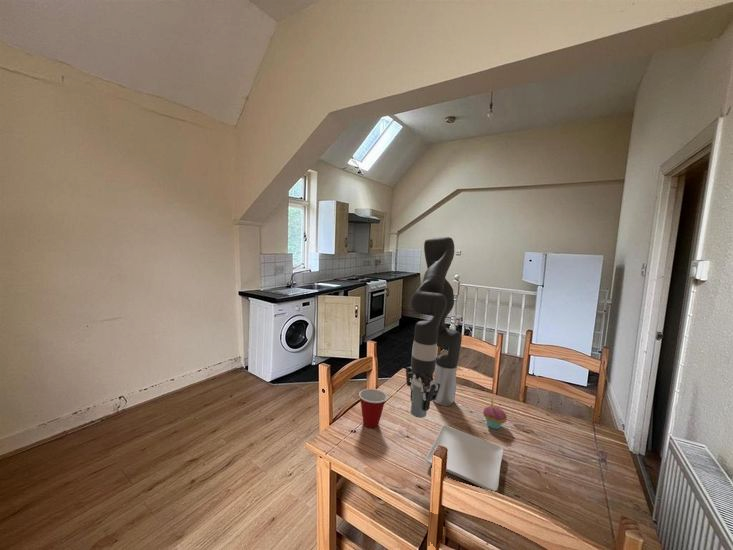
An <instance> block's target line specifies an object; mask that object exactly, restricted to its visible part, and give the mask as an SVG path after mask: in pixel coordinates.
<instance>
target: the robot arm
mask: <svg viewBox="0 0 733 550" xmlns="http://www.w3.org/2000/svg"><path fill="white" fill-rule="evenodd" d="M423 250H424V258H425V263H426V267H427V270H426V271H425V272H424V274H423V279H422V282H421V284H420V286H419V287H418V288H417V289H416V290H415V292H414V293H413V295H412V297H411V300H410V307H411V309H412V312H414V313H415V314H418V315H425V316H431V317H432V318H431V319H428V320H419V321H417V322H415V327H414V335H413V336H414V337H413V342H412V348H411V359H410V361H411V362H410V366H408V367H406V368H405V377H406V385H407V386H408V387H409V389H410V401H411V402H412V391H413V378H414V379H419V382H420V383H422V387H421V392H422V393H423V403H422V410H423V411H426V410H427V411H428V410H429V409H430V408H431V407H430V406H431V402H433V403H435V404H437V405H438V406H442V407H449V406H451V405H453V403H454V402H455V398H456V390H457V380H456V379H457V378H456V377H457V368H458V363H459V357H460V352H461V347H462V341H463V340H462V339H463V338H462V334H461V332H460V331H459V330H455V329H453V328H452V329H451V328H448V327H447V326H446V318H447V317H448V315H449V314H450V313H451V311H452V310H453V308H454V305H455V295H454V289H453V287H452V285H451V283H450V282H449V281H448V279H446V276H447V274H448V271H449V270H450V267H451V265H452V263H453V260H454V256H455V242H454V239H453V238H452V237H450V236H443V237H442V236H441V237H429V238H426V239H425V240H424V245H423ZM438 348H440V349H443V350H446V351H448V352H447V353H446V354H445V353H443V354H437V353H438ZM433 374H434V375H433ZM423 383H424V384H423ZM427 386H429V388H428V389H424V387H427ZM426 392H428V395H427V396H426Z"/></svg>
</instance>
